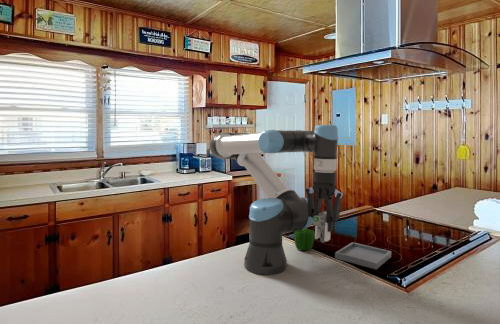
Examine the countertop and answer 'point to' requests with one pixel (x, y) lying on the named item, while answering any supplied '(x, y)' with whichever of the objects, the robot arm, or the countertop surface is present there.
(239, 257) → the countertop surface
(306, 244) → the bell pepper
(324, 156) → the robot arm
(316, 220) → the mechanical component
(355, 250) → the tray
